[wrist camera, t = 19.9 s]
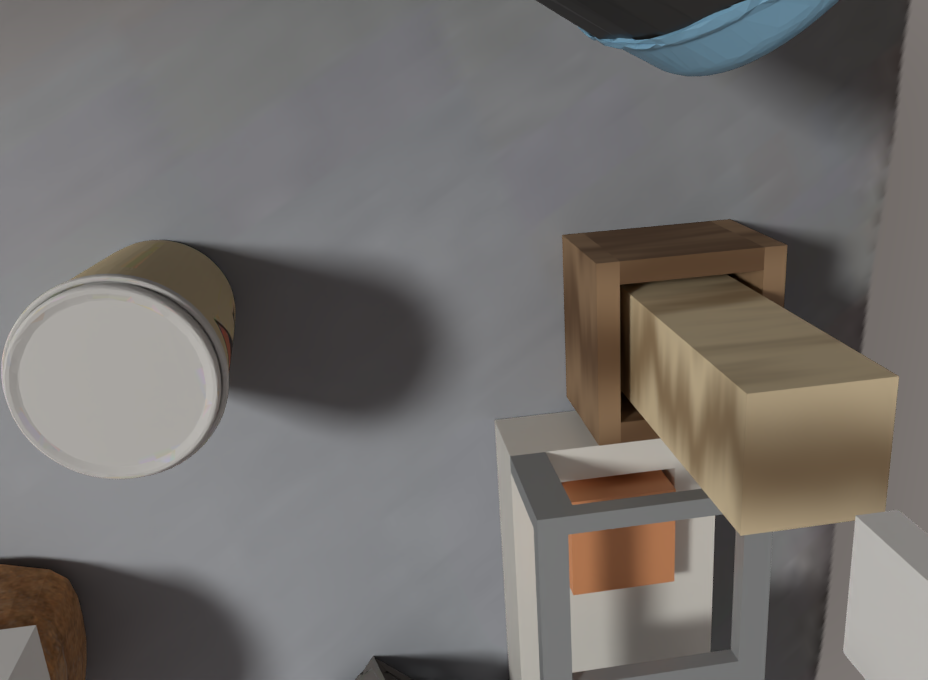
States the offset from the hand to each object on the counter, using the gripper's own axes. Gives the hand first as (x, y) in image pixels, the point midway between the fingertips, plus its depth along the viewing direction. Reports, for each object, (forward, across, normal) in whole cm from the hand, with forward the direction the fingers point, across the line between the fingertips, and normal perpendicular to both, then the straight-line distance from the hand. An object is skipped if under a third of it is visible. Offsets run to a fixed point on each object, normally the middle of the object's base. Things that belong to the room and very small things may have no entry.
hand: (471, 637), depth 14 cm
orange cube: (+36, +12, -18) cm, 43 cm away
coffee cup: (+37, -12, -4) cm, 39 cm away
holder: (+37, +16, -7) cm, 40 cm away
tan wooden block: (+37, +16, -7) cm, 40 cm away
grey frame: (+37, +12, -23) cm, 45 cm away
